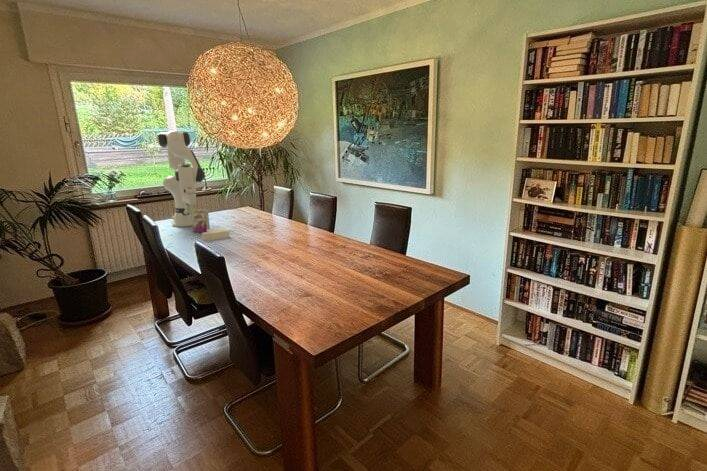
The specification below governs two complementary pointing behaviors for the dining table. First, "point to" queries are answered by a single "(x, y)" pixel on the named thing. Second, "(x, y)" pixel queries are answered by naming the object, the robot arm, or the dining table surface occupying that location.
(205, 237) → the beige cube
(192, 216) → the candy bar box
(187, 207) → the green cube
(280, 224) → the dining table surface
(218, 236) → the base block
